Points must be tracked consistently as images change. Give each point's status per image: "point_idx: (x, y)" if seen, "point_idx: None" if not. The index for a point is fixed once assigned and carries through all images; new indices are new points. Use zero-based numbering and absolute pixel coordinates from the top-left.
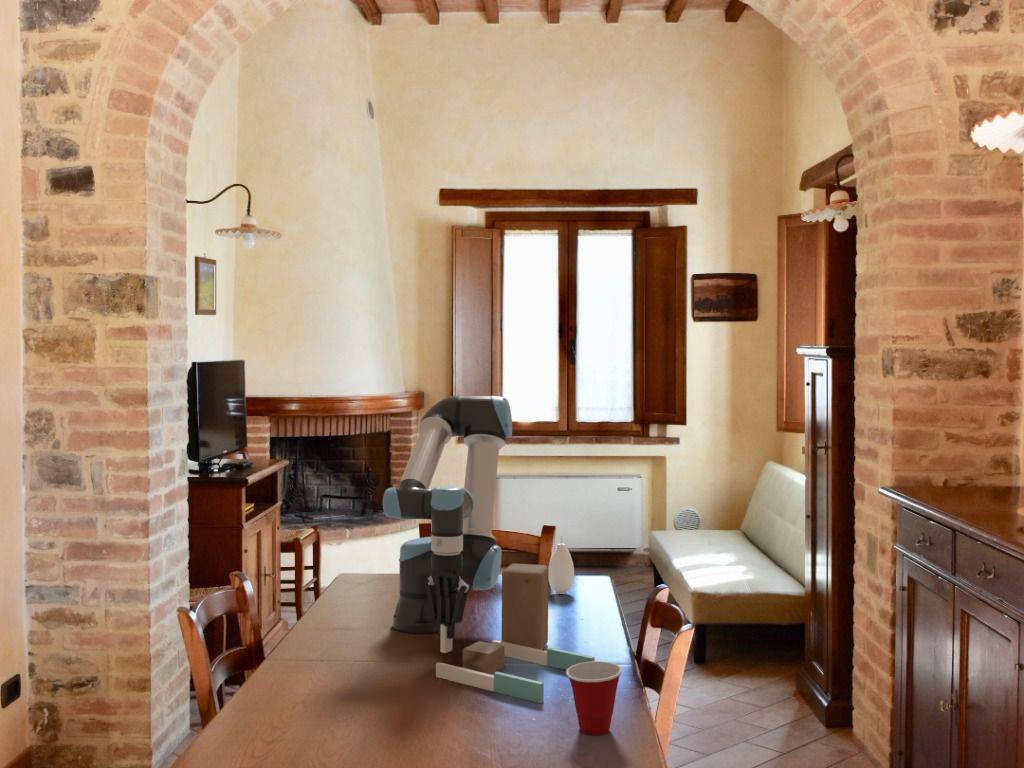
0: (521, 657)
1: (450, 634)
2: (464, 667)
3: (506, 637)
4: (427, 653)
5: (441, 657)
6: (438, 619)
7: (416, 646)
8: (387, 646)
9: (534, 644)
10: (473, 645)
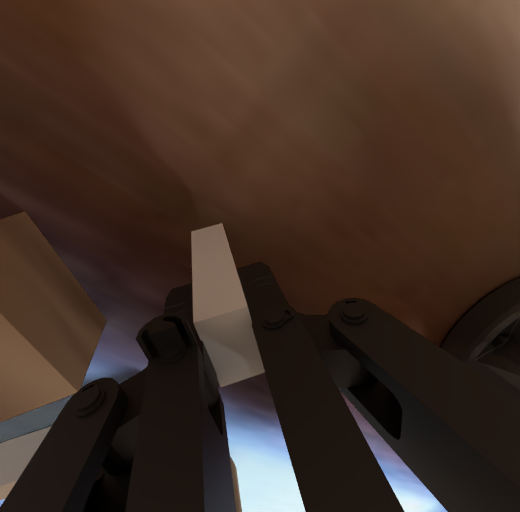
0: (36, 438)
1: (170, 307)
2: (4, 219)
3: None
4: (323, 218)
5: (245, 234)
6: (287, 329)
7: (410, 232)
8: (501, 143)
9: None
10: (3, 343)
